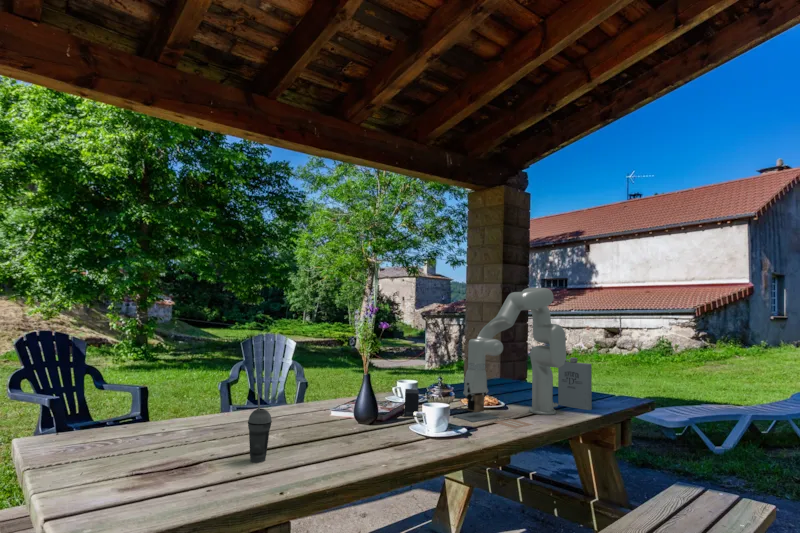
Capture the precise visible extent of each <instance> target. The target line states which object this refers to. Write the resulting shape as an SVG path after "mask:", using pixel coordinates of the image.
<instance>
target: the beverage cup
mask: <svg viewBox="0 0 800 533" xmlns="http://www.w3.org/2000/svg"><path fill="white" fill-rule="evenodd" d="M260 399H261V398H260V393H257V409H255V410H253V411H252V412H251V413H250V415H249V417H248V421H247V429H248V437H249V459H250V462H251V463H254V464H255V463H256V464H258V463H263V462H265V461H266V457H267V452H268V444H269V436H270V430H271V427H272V424H273V421H272V415H271V413H270V412H269V411H268V410H267V409H265V408H261V406H260V405H261V403H260V402H261V401H260Z"/></svg>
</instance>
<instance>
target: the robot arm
mask: <svg viewBox="0 0 800 533" xmlns="http://www.w3.org/2000/svg"><path fill="white" fill-rule="evenodd" d="M554 298H555V297H554V293H553V291H552V290H551V289H550V288H547V287H527V288H524V289H523V290H522V291H514V292H513V291H512V292H510V293H509V294H508V295H507V297H506V299H505V300H504V302H503V304H502V306H501V307H500V309H499V311H498V313H497V314H496V315H495V317H494V318H492V319H491V320H490V321H489V322H488V323H487V324H486V325H484V326H483V327H482V329H481V330H480V331H479V333H478V335H477V336H476V338H471V339H469V341H468V353H467V354H468V355H467V357H468V358H467V361H468V362H467V370H466V372H465V377H464V387H463V392H462V394H463V396H465V398H466V400H467V410H468V409H470V410H474V401H473V399H474V395H475V394H482V395H484V400H485V398H486V396H487V394H488V393H489V389H488V380H487V379H488V378H487V371H486V356H493V357H496V356H499V355H501V354H502V353H503V351H504V345H503V342H502V341H501V340H499V339H496V338H494V337H495V336H496V335H498V334H499V333H501V332H504V331H506V330H508V329H510V328H512V327H513V326H514V325H515V322H516V321H517V319H518V316H519V315H520V313H521V311H530V312H531V315H532V317H531V318H532V337H533V339H534V341H535V342H537V343H541V344H548V345H541V344H540V345H535V346H534V347H532V348H531V350H530V354H529V356H530V357H529V358H530V364H531V372H532V373H531V377H532V380H531V384H532V385H531V386H532V387H531V388H532V389H531V394H532V395H531V399H532V400H531V401H532V402H531V407H529V408H528V412H529V413H532V414H535V415H545V416H546V415H547V416H549V415H556V414H557V410H556V409H554V408H557V407H558V406H559V405H558V402H554V400H553V398H554V397H553V396H554V393H553V392H554V391H553V390H554V375H553V371H552V369H551V368H557V369H558V368H559V367H562V366H563V365H564V363H565V361H567V360H566V359H567V351H566V350H567V343H566V332H565V328H563V326H561V325H560V324H557V323H552V320H551V319H552V316H551V311H550V308H549V306H550V305H551V304H553V301H554Z"/></svg>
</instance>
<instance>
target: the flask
mask: <svg viewBox="0 0 800 533" xmlns="http://www.w3.org/2000/svg"><path fill="white" fill-rule="evenodd" d="M592 369H593V368H592V363H587V362H586V363H585V362H578V357H570V358H568V359H567V358H566V361H565V363H564V365H563V366H562V367H559V368H557V371H558V372H557V374H558V375H557V379H558V380H557V384H558V385H557V390H558V391H557V393H558V394H557V395H558V396H557V398H558V399H557V401H558V402H557V404H558V406H564V407H568V408H574V409H580V410H586V411H591V410H592V408H593V406H592V403H593V402H592V400H593V398H592V395H593V392H592V388H593V387H592V386H593V384H592V383H593V382H592V374H593V372H592Z"/></svg>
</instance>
